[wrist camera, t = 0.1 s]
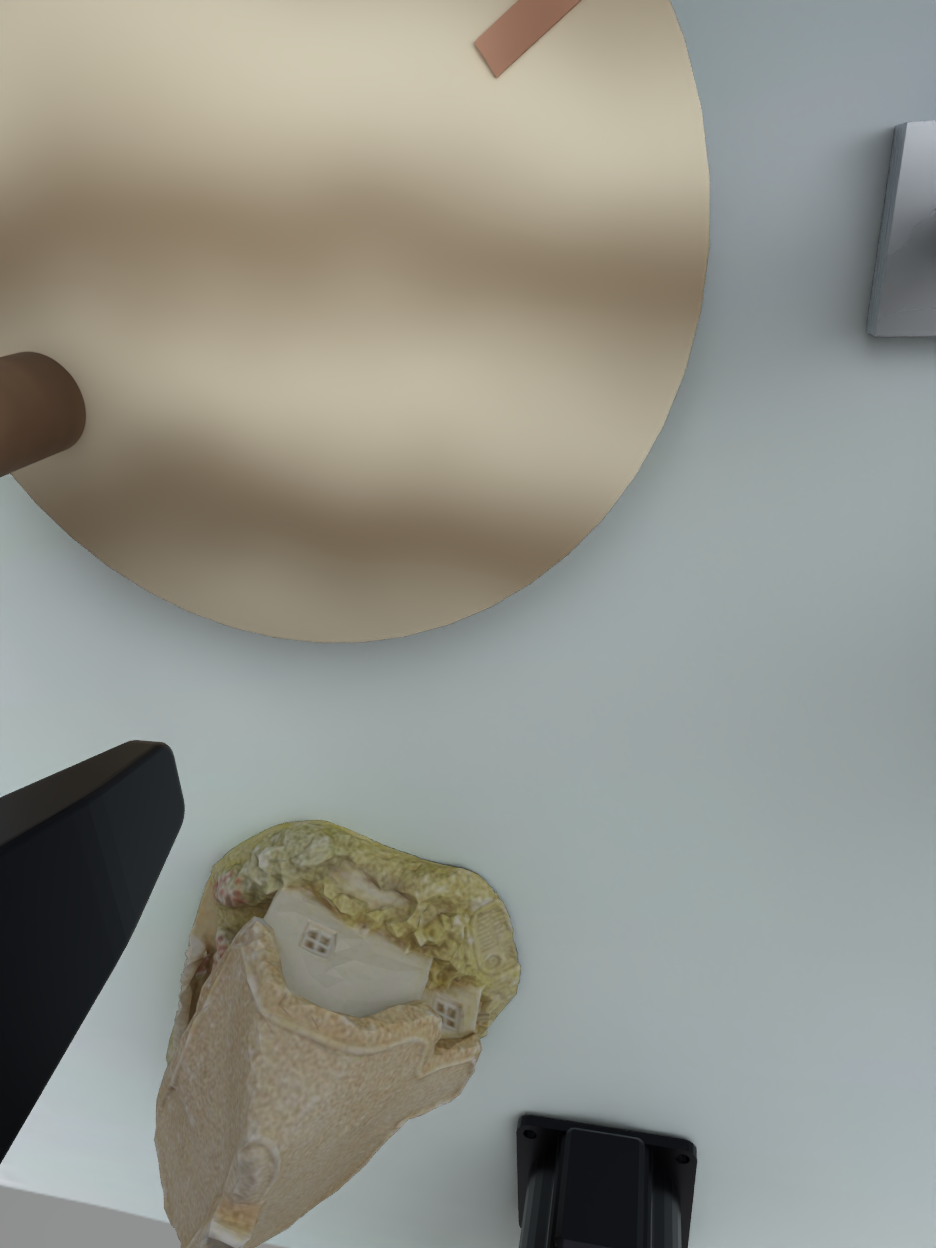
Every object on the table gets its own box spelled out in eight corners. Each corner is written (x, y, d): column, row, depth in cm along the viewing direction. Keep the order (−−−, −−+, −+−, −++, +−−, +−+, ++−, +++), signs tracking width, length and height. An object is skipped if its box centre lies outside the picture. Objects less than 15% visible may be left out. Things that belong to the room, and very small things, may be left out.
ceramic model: (269, 754, 29) (91, 1004, 20) (571, 918, 29) (530, 1234, 20) (149, 1001, 35) (-26, 1271, 26) (396, 1132, 36) (307, 1441, 27)
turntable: (679, 629, 22) (689, 948, 13) (48, 599, 26) (-312, 832, 16) (745, -343, 15) (895, -1336, 5) (-162, -200, 18) (-1066, -639, 9)
